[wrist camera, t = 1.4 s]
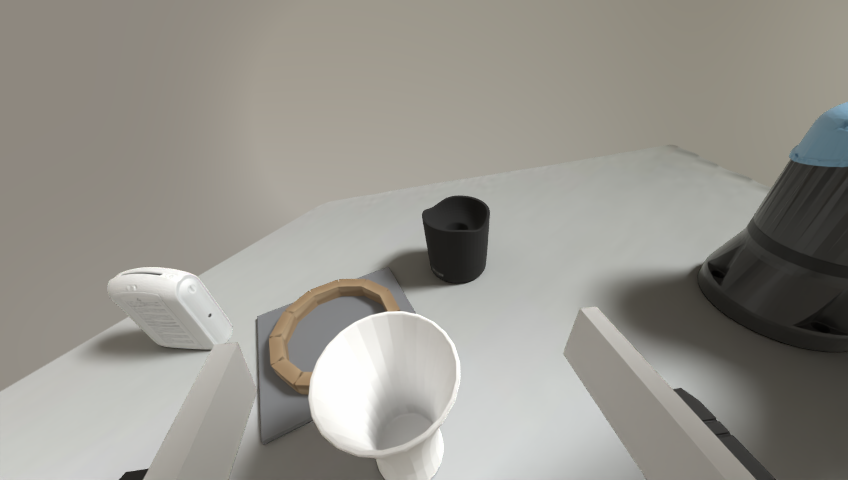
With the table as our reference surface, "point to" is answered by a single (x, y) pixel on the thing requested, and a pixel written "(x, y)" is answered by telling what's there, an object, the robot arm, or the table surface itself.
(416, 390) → the cup
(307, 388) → the collar ring
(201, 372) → the robot arm
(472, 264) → the pen holder
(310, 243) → the table surface
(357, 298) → the collar mat
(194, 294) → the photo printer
